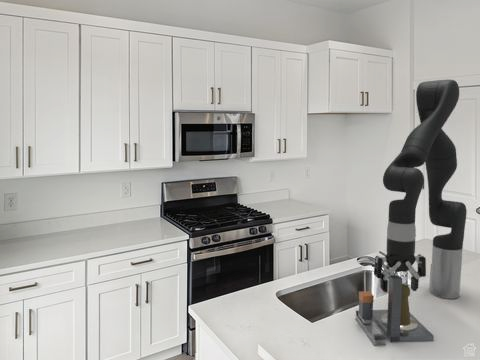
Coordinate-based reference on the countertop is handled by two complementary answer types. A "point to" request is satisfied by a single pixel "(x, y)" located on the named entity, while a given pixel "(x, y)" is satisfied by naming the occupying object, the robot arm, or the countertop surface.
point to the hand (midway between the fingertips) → (399, 290)
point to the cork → (405, 306)
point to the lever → (366, 307)
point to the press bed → (391, 318)
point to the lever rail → (372, 332)
